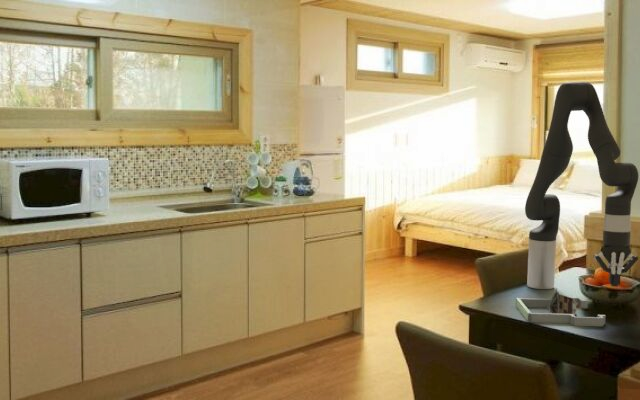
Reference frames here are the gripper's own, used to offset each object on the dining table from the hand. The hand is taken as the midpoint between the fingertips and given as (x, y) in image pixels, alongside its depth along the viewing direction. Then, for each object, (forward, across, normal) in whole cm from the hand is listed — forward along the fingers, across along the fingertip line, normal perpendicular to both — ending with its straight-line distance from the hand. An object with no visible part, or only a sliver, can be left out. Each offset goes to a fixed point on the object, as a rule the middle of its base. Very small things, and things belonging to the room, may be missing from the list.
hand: (614, 285), depth 205 cm
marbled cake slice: (+10, +14, 0) cm, 17 cm away
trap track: (+9, +16, 0) cm, 19 cm away
